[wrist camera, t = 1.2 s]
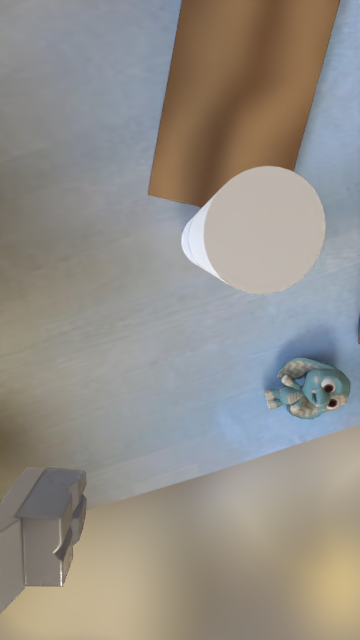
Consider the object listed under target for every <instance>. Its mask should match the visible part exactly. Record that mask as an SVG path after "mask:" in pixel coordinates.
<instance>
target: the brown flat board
mask: <svg viewBox="0 0 360 640" xmlns="http://www.w3.org/2000/svg"><path fill="white" fill-rule="evenodd" d="M339 3H340V0H182V4H181V10H180V15H179V21H178V26H177V32H176V38H175V43H174V49H173V55H172V60H171V66H170V72H169V77H168V83H167V89H166V94H165V100H164V105H163V111H162V117H161V122H160V128H159V134H158V139H157V145H156V151H155V156H154V162H153V167H152V173H151V179H150V184H149V190H148V195H152V196H156V197H160V198H165V199H169V200H173V201H177V202H182V203H186V204H190V205H195V206H199V207H203V206H204V205H205V204H206V203H207V202H208V201H209V200H210V199H211V198H212V197H213V196H214V195H215V194H216V193H217V192H218V191H219V190H220V189H221V188H222V187H223V186H224V185H225V184H226V183H227V182H228V181H229V180H230V179H232V178H233V177H235V176H237V175H238V174H240V173H242V172H243V171H246V170H249V169H252V168H255V167H263V166H275V167H281V168H284V169H288V170H291V171H294V167H295V164H296V160H297V156H298V153H299V149H300V145H301V142H302V138H303V134H304V131H305V127H306V123H307V120H308V116H309V112H310V109H311V105H312V101H313V98H314V94H315V90H316V87H317V83H318V79H319V76H320V72H321V68H322V65H323V61H324V57H325V54H326V50H327V46H328V43H329V39H330V36H331V32H332V28H333V25H334V21H335V17H336V14H337V10H338V6H339Z"/></svg>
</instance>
